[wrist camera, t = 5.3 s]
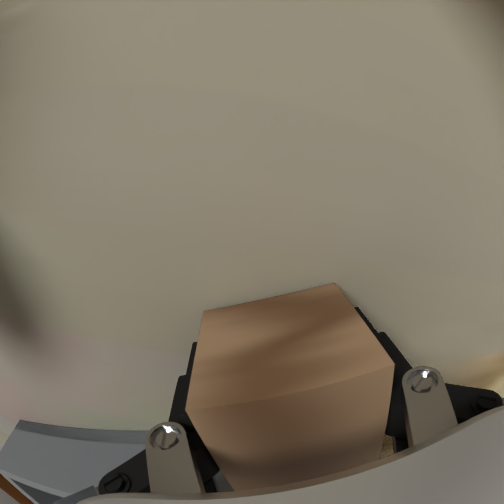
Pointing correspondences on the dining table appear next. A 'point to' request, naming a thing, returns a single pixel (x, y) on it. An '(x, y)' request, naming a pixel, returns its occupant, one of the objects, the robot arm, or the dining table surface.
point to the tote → (68, 459)
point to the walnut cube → (289, 388)
